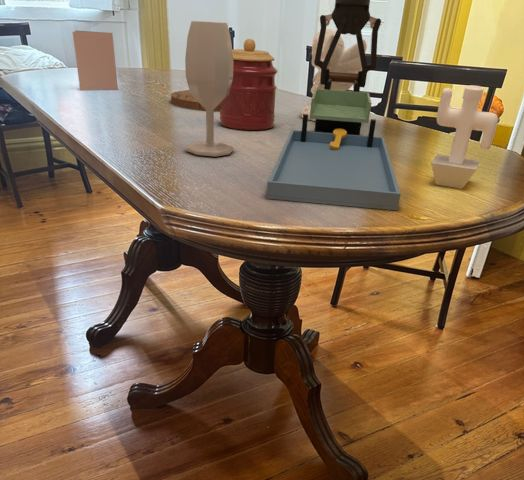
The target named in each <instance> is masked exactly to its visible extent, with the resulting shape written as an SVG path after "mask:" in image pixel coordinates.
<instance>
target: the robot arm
mask: <svg viewBox="0 0 524 480" xmlns="http://www.w3.org/2000/svg"><path fill="white" fill-rule="evenodd" d="M370 3H371V0H335V1H334V9H333V10H332V12H331V13H329V14H325V15H324V14H322V15H320V16H319V22H320V29H319V30H320V35H319V40H318V45H317V50H316V55H315V61H314V64H315V65H316V66H318V67H320V68H321V78H320V84H323V85H325V86H324V89H327V83H328V78H329V71H330V69H327V65H328V63H329V61H330V58H331V56H332V54H333V52H334V49H335V47H336V45H337V42H338V40H339V38H340V36H341V35H350V36H351V35H352V36H355V39H356V43H357V44H358V49H359V55H360V60H361V66H362V71H359V72H358V90H357V92H361V91H360V90H361V88H365V86H366V83H367V75H368V72H369V71H372V70H375V69H376V68H377V52H378V35H379V30H380V26H381V25H382V19H380V18H379V17H378V18H377V17H374V16H371V13H370V5H371V4H370ZM331 20H332V21H333V23H334V25H335V27H336V30H335V32H336V33H335V36H334V38H333V40H332V43H331V45H330V47H329V50H328V52H327V54H326V57H325V59H324V61H321V60H320V58H321V53H322V48H323V43H324V38H325V33H326V29H327V27H329V26H330V23H331ZM368 22H369V28H370V29H371V40H370V41H371V42H370V43H371V44H370V61H369V62H370V63H368V62H367V57H366V52H365V51H364V45H363V40H364V39H363V34H362V30H363V29H364V28H365V26H366V25H367V24H368ZM341 37H342V36H341Z"/></svg>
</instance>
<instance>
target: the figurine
mask: <svg viewBox="0 0 524 480" xmlns="http://www.w3.org/2000/svg"><path fill="white" fill-rule="evenodd" d="M484 90H485V89H484V88H483V87H482V86H481V85H473V84H469V85H468V86H465V87H464V89H463V93H462V104H461V107H460V108H453V107H451V101H452V97H453V89H452V88H451V87H445V88H443V90H442V91H441V95H440V100H439V103H438V107H437V113H436V124H437V125H438V126H441V127H447V128H454V129H455V133H454V137H453V141H452V145H451V148H450V152H449V155H446V154H438V153H436V155H435V156H434V158H433V159H432V161H431V162H430V165H431V170H432V174H433V178H434V183H435V185H436V186H442V187H449V188H454V189H461V190H462V189H463V188H464V187H465V186H466V185H467V183H468V182H469V180H470V179H471V178H472V177H473V175H474V174H475V172H477V170H478V168H479V164H480V162H481V160H480V159H473V158H467V157H466V154H467V151H468V146H469V143H470V139H471V135H472V131H478V132H482V138H481V142H480V149H482V150H486V151H487V150H489V149H490V148H491V147H492V144H493V141H494V137H495V134H496V130H497V126H498V121H499V119H498V118H499V117H498V115H497V114H496V113H494V112H488V111H481V110H478V108H479V105H480V102H481V100H482V98H483V95H484Z"/></svg>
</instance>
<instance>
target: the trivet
mask: <svg viewBox="0 0 524 480" xmlns="http://www.w3.org/2000/svg"><path fill="white" fill-rule="evenodd" d="M170 103H171V104H172V105H173V106H176V107H179V108H183V109H188V110H195V111H196V110H197V111H204V112H205V111H206V109H205V108H204V107H203V106H202V105H201V104H200V103H199V102H198V101H197V100H196V99H195V98H194V97H193V96H192V95H191V94H190V91H189V89H186V90H178V91H173V92H172V93H171V94H170ZM220 110H221V103H220V104H219V105H218V106H217V107H216V108H215V109H214V112H220Z"/></svg>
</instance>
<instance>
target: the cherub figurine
mask: <svg viewBox="0 0 524 480" xmlns="http://www.w3.org/2000/svg"><path fill="white" fill-rule="evenodd" d="M335 33H336V30H333V29H331V28H326V33H325V38H324V43H323V48H322V53H321V58H320V60H321V61H324V59H325V57H326V54H327V52H328V50H329V47H330V45H331V43H332V40H333V38H334V36H335ZM319 35H320V29H319V30H318V31H317V32H316V34H315V35H314V37H312V38H313V39H312V46H311V62H310V63H311V66H312V67H314V68H316V69H317V70H318V71H317V72H316V73H315V75H314V76H313V78H312V83H313V84H312V87H311V89H310V93H311V94H312V95H313V94H314V91H315V89H324V86H325V85H323V84H320V78H321V68H320V67H318V66H316V65H315V64H314V61H315V55H316V50H317V45H318V40H319ZM363 45H364V51H365V53H366V51H367V48H368V45H367V41H366V39H363ZM327 69H330V71H329V72H340V73H354V74H358V72H359V71H362V66H361V60H360V55H359V49H358V44H357V42H356V43H354V44H353V45H352V46H350V47H348V48H347V49H345V41H344V39H343V37H342V36H340V38H339V40H338V42H337V45H336V47H335V49H334V52H333V54H332V56H331V58H330V61H329V63H328V65H327ZM353 85H354V83H344V82H332V83H331V89H330V90H340V91H349V90H350V89H351V88H353ZM325 105H326V104H325ZM310 110H311V102H310V103H309V104H307V106H304V108H302V109H301V111H300V117H301V118H302V119H303V114H308V121H312V122H316V119H310Z"/></svg>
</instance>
